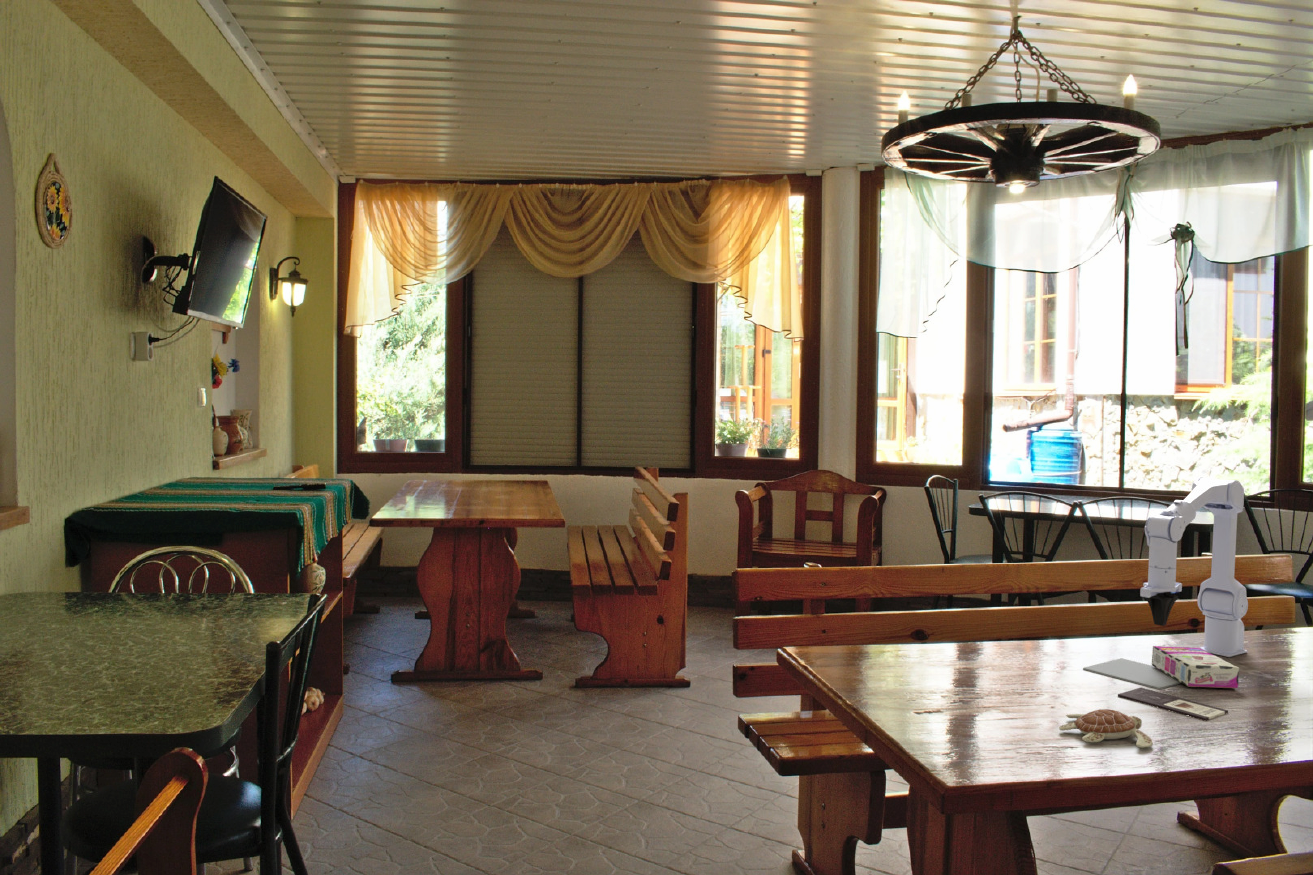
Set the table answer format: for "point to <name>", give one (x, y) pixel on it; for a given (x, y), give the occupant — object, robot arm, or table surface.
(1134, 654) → the table surface
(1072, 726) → the decorative turtle
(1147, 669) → the rubber mat
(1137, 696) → the chocolate bar
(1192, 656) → the candy bar box
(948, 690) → the table surface
